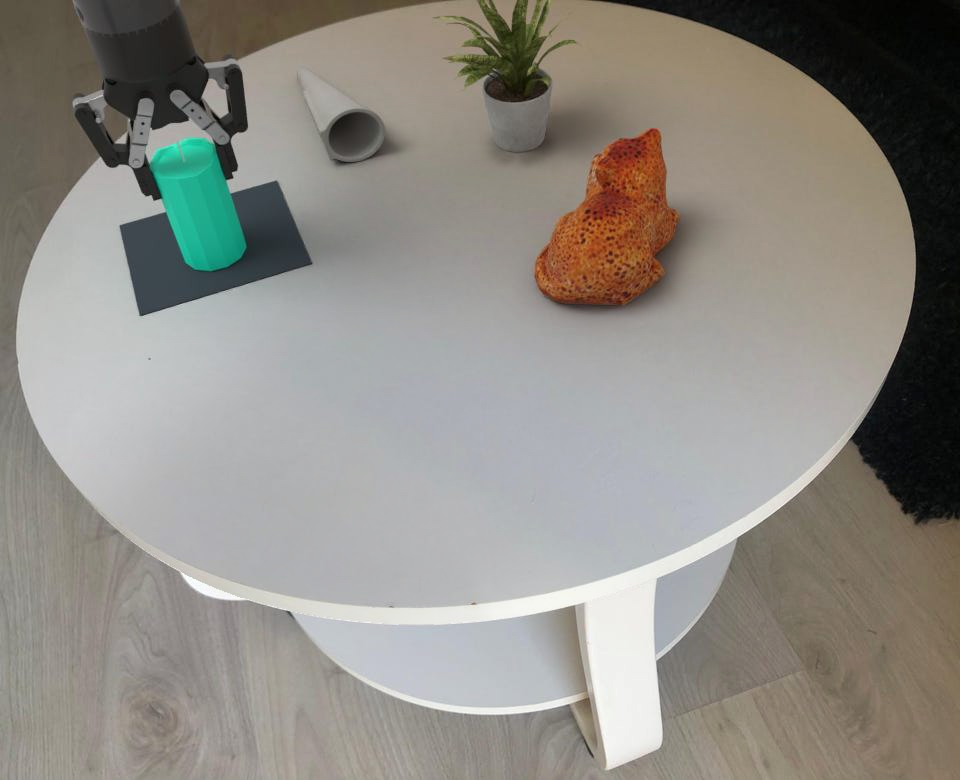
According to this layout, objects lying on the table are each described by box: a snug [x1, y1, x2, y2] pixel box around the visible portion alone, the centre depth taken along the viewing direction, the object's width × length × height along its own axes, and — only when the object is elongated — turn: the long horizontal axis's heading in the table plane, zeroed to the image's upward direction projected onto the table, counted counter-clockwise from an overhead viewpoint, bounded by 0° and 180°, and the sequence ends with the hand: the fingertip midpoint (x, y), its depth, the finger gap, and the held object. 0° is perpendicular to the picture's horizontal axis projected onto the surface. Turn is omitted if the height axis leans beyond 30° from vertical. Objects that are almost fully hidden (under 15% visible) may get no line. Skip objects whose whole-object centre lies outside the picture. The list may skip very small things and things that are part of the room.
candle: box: [149, 137, 247, 271], centre depth 89 cm, size 6×6×12 cm
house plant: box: [433, 0, 582, 153], centre depth 97 cm, size 14×14×16 cm
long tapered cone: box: [296, 65, 386, 163], centre depth 107 cm, size 6×6×19 cm
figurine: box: [533, 127, 681, 307], centre depth 85 cm, size 15×11×10 cm
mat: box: [118, 180, 313, 317], centre depth 95 cm, size 16×14×1 cm
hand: (192, 184), depth 88 cm, fingers closed on candle, 6 cm apart
